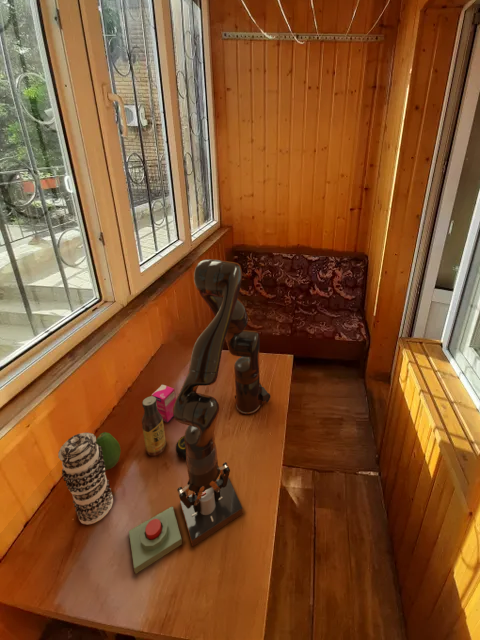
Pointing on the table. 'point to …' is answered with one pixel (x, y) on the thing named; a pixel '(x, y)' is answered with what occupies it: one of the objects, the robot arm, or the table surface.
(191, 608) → the table surface
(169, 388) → the supplement box
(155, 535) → the power button
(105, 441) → the avocado
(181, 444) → the tape measure
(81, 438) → the decorative candle
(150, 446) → the sauce bottle
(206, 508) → the stove knob
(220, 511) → the hob panel
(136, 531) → the block
